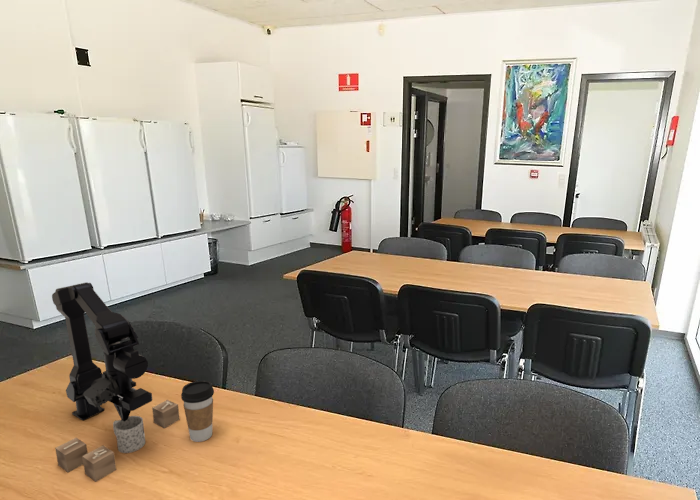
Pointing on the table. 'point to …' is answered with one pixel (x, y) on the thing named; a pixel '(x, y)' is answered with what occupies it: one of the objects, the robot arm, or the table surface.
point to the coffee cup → (198, 409)
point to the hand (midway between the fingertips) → (124, 420)
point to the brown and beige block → (165, 413)
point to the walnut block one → (71, 454)
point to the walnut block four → (99, 463)
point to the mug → (129, 434)
